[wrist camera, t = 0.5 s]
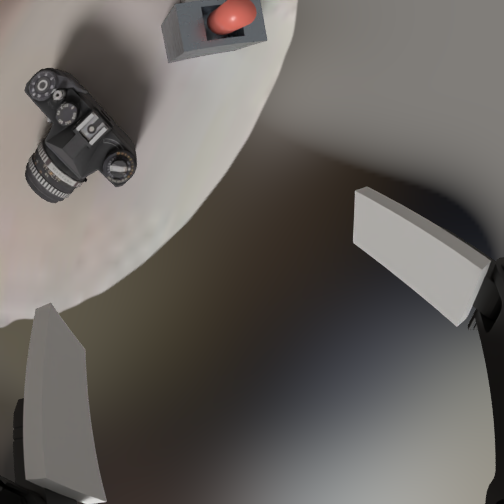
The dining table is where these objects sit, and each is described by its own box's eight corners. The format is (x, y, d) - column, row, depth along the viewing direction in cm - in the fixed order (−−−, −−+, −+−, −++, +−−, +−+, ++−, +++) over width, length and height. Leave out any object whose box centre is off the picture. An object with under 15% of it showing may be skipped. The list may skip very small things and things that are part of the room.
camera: (6, 136, 23) (-29, 152, 15) (68, 64, 23) (49, 52, 15) (83, 209, 32) (74, 247, 24) (144, 144, 32) (153, 161, 24)
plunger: (204, 10, 19) (220, -3, 16) (233, 8, 20) (253, -5, 17) (209, 37, 21) (226, 27, 18) (238, 33, 22) (259, 24, 18)
